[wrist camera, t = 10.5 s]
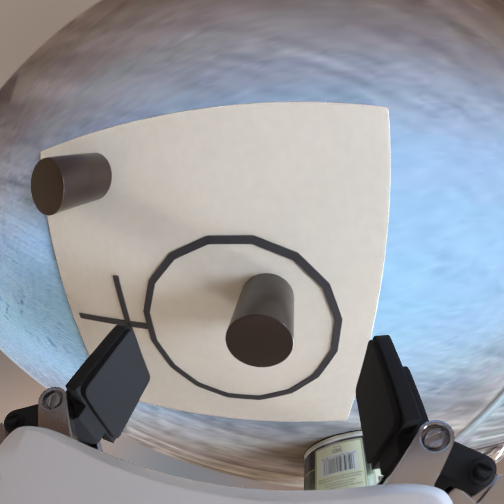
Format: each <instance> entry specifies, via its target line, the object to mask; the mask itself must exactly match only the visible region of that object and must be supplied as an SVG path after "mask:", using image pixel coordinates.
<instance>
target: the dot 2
mask: <svg viewBox="0 0 504 504" xmlns="http://www.w3.org/2000/svg"><path fill="white" fill-rule="evenodd" d="M225 341H226V345H227V348H228V350H229V351H230V353H231V354H232V355H233V356H234V357H235V358H236V359H237V360H239V361H240V362H242V363H244V364H247V365H250V366H254V367H271V366H274V365H277V364H279V363H281V362H283V361H284V360H285V359H287V357H288V356H289V355H290V354H291V352H292V350H293V346H294V293H293V290H292V288H291V286H290V284H289V283H288V282H287V281H286V280H285V279H283V278H282V277H280V276H278V275H275V274H270V273H263V274H258V275H255V276H253V277H252V278H250V279H249V280H248V281H247V282H246V283H245V284H244V286H243V288H242V291H241V293H240V296H239V299H238V301H237V304H236V307H235V310H234V312H233V315H232V318H231V321H230V323H229V326H228V329H227V332H226V336H225Z"/></svg>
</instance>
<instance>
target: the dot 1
mask: <svg viewBox="0 0 504 504" xmlns="http://www.w3.org/2000/svg"><path fill="white" fill-rule="evenodd" d="M111 181H112V171H111V167H110V164H109V162H108V160H107V159H106V158H105V157H104V156H103V155H102V154H99V153H83V154H72V155H62V156H54V157H46V158H43V159H41V160H40V161H39V162H38V163H37V165H36V166H35V168H34V171H33V174H32V179H31V192H32V197H33V200H34V203H35V205H36V207H37V208H38V210H39V211H40V212H41V213H43V214H45V215H48V216H51V215H54V214H57V213H60V212H62V211H65V210H68V209H71V208H74V207H77V206H80V205H83V204H86V203H89V202H92V201H96V200H99V199H101V198H102V197H104V196H105V195H106V193H107V192H108V190H109V188H110V185H111Z"/></svg>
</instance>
